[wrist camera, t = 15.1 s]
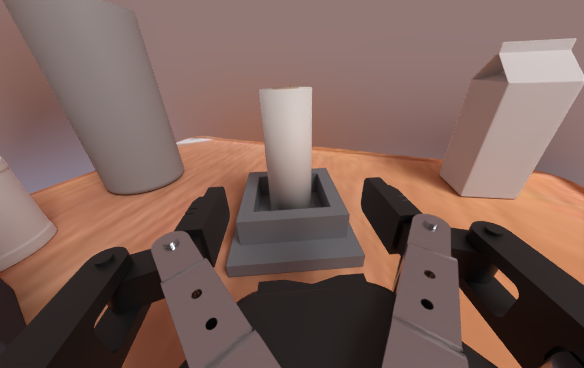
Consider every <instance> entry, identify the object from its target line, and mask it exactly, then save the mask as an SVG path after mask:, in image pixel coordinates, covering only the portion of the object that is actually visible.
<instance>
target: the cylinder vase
mask: <svg viewBox="0 0 584 368" xmlns="http://www.w3.org/2000/svg"><path fill="white" fill-rule="evenodd" d="M3 2H4V3H5V5H6V7H7V9H8V11H9V13H10V14H11V16H12V18H13V20H14V22H15V24H16V25H17V27H18V29H19V31H20V33H21V35H22V36H23V38H24V40H25V42H26V44H27V45H28V47H29V49H30V51H31V53H32V55H33V56H34V58H35V60H36V62H37V64H38V65H39V67H40V69H41V71H42V73H43V74H44V76H45V78H46V80H47V82H48V84H49V86H50V87H51V89H52V91H53V93H54V94H55V96H56V98H57V100H58V102H59V104H60V106H61V107H62V109H63V111H64V113H65V114H66V116H67V118H68V120H69V122H70V124H71V125H72V127H73V129H74V131H75V133H76V135H77V136H78V138H79V140H80V142H81V144H82V146H83V147H84V149H85V151H86V153H87V154H88V156H89V158H90V160H91V162H92V164H93V166H94V168H95V169H96V171H97V173H98V175H99V177H100V178H101V180H102V182H103V184H104V186H105V188H106V189H107V190H108V191H110V192H112V193H115V194H120V195H131V194H139V193H145V192H149V191H153V190H156V189H159V188H162V187H164V186H166V185H168V184H170V183H172V182H174V181H175V180H177V179H178V178H179V177H180V176H181V175H182V174H183V172H184V166H183V163H182V160H181V157H180V154H179V150H178V147H177V144H176V141H175V138H174V135H173V132H172V128H171V125H170V122H169V119H168V116H167V113H166V110H165V107H164V103H163V100H162V97H161V94H160V91H159V88H158V84H157V81H156V78H155V75H154V72H153V69H152V66H151V62H150V59H149V56H148V53H147V50H146V47H145V44H144V40H143V37H142V34H141V31H140V28H139V25H138V22H137V18H136V15H135V13H134V11H132V10H131V9H128V8H126V7H124V6H121V5H117V4H114V3H110V2H105V1H100V0H3Z"/></svg>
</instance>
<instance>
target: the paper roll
mask: <svg viewBox="0 0 584 368" xmlns="http://www.w3.org/2000/svg"><path fill="white" fill-rule="evenodd" d="M259 96H260V106H261V115H262V125H263V134H264V144H265V154H266V164H267V173H268V183H269V193H270V202H271V211H276V210H291V209H305V208H311V153H312V146H311V145H312V141H311V140H312V138H311V137H312V87H277V88H266V89H259Z"/></svg>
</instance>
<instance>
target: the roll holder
mask: <svg viewBox="0 0 584 368" xmlns="http://www.w3.org/2000/svg"><path fill="white" fill-rule="evenodd" d="M364 258H365V254H364V252H363V250H362V248H361V246H360V244H359V242H358V240H357V238H356V236H355V234H354V232H353V229H352V227H351V225H350V223H349V213H348V211H347V209H346V207H345V205H344V203H343V201H342V199H341V197H340V195H339V193H338V191H337V189H336V187H335V185H334V183H333V181H332V179H331V177H330V175H329V173H328V171H327V169H326V168H318V169H311V208H305V209H291V210H276V211H271V202H270V193H269V183H268V173H267V172H253V173H249V175H248V179H247V183H246V187H245V190H244V194H243V198H242V202H241V205H240V209H239V213H238V217H237V220H236V229H235V233H234V236H233V240H232V244H231V248H230V252H229V256H228V260H227V264H226V269H227V273H228V277H239V276H251V275H264V274H276V273H288V272H300V271H313V270H325V269H337V268H349V267H362V266H363V264H364Z"/></svg>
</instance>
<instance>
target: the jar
mask: <svg viewBox="0 0 584 368" xmlns="http://www.w3.org/2000/svg"><path fill="white" fill-rule="evenodd" d="M56 232H57V228H56V227H55V226H54V224H53V223H52V222H51V221H50V220H49V219H48V218H47V217H46V215H45V214H44V213H43V211H42V210H41V209H40V208H39V206H38V205H37V204H36V202H35V201H34V200H33V198H32V197H31V196H30V195H29V193H28V192H27V191H26V189H25V188H24V187H23V186H22V184H21V183H20V182H19V180H18V179H17V178H16V176H15V175H14V174H13V173H12V171H11V170H10V169H9V166H8V164H7V163H6V162H5V160H4V159H3V158H2V157H1V156H0V272H1V271H3V270H5V269H7V268H9V267H11V266H13V265H15V264H17V263H18V262H20V261H22V260H24V259H25V258H27V257H29V256H30V255H32V254H33V253H35V252H36V251H38V250H39V249H40V248H42V247H43V246H44V245H45V244H46V243H48V242H49V241H50V240H51V239H52V238H53V236H54V235H55V234H56Z"/></svg>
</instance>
